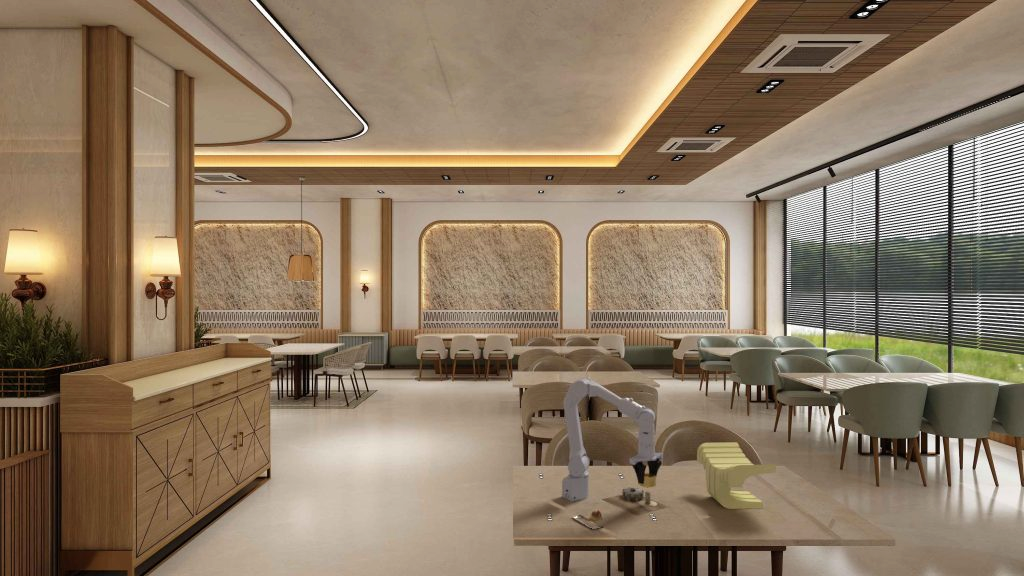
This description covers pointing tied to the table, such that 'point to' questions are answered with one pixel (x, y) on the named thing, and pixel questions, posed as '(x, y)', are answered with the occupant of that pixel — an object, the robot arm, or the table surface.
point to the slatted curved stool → (729, 474)
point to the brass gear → (649, 480)
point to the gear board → (635, 501)
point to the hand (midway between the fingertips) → (646, 481)
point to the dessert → (594, 516)
